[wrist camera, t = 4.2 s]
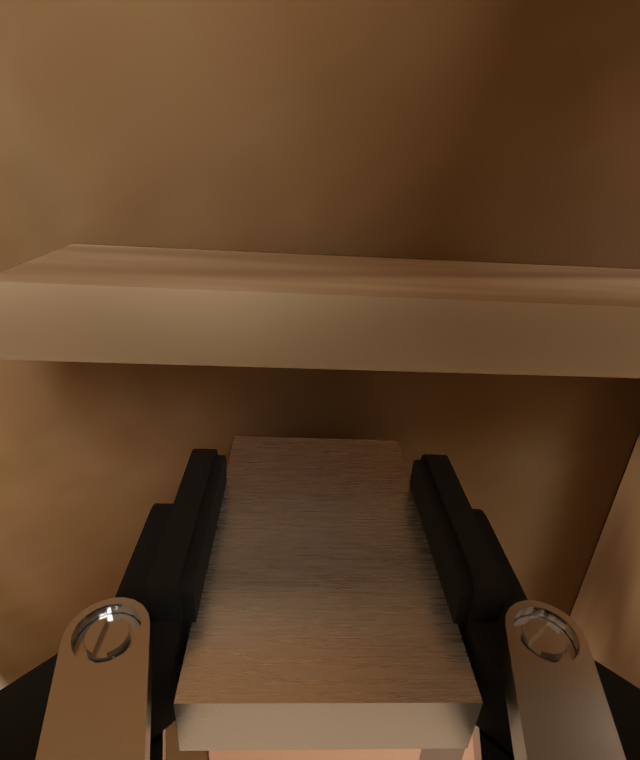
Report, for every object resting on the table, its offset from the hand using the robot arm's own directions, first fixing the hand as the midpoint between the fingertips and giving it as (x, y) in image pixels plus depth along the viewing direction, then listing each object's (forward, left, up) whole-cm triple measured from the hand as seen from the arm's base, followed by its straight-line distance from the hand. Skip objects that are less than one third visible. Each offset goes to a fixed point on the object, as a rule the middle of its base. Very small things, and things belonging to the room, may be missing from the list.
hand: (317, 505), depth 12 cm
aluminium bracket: (+4, 0, -2) cm, 5 cm away
